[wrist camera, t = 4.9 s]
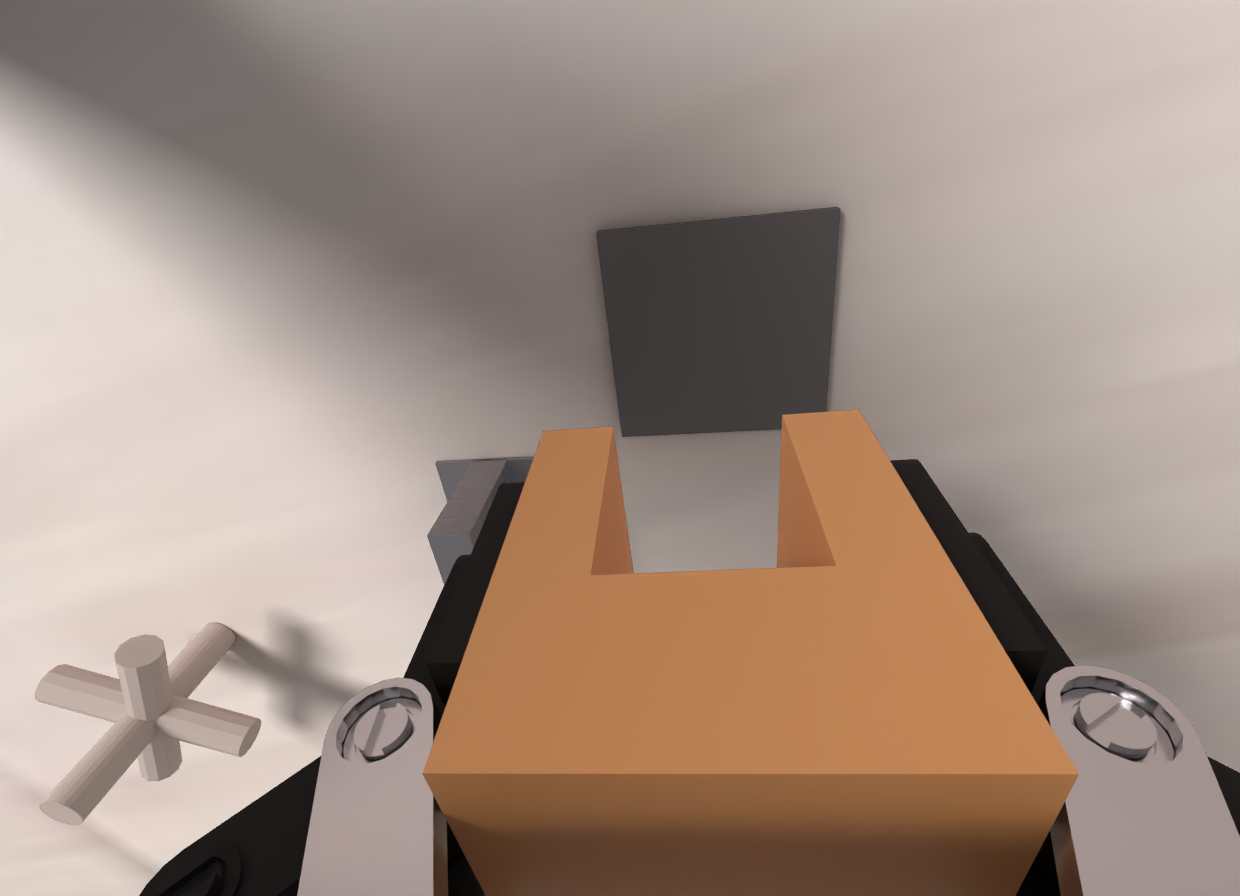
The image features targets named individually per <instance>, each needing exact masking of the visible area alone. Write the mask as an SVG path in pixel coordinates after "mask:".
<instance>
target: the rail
mask: <svg viewBox="0 0 1240 896" xmlns="http://www.w3.org/2000/svg"><path fill="white" fill-rule="evenodd" d="M533 459H534V457H518V458H496V459H474V460H451V461H437V462H436V467H437V470H438V473H439V476H440V479H441V482H442V486H443V489H444V492H445V495H446V498H447V501H448V502H447V504H446V505H445V507H444V509H443V510H442V512H441V514H440V515H439V517H438V518H437V520H436V522H435V523H434V525H433V527H432V528H431V530H430V532H429V533H428V535H427V537H428V540H429V543H430V546H431V548H432V551H433V554H434V557H435V560H436V563H437V565H438V568H439V571H440V574H441V577H442V580H443V582H444V585H445V583H446V581H447V578H448V576H449V574H450V572H451V569H452V567H453V565H454V563H455V561H456V560H457V558H458V557H460V556H461V555H470V554H471V552H472V550H473V548H474V545H475V543H476V540H477V538H478V536H479V533H480V531H481V528H482V526H483V524H484V521H485V519H486V516H487V514H488V512H489V509H490V507H491V504H492V502H493V500H494V497H495V495H496V492H497V490H498V487H499V486H500V484H502V483H512V482H525V481H526V478H527V476H528V473H529V470H530V467H531V464H532V461H533Z"/></svg>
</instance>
